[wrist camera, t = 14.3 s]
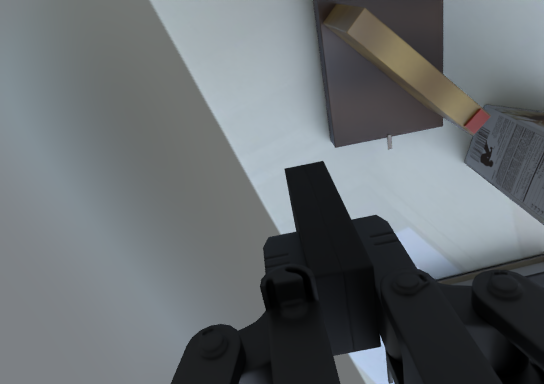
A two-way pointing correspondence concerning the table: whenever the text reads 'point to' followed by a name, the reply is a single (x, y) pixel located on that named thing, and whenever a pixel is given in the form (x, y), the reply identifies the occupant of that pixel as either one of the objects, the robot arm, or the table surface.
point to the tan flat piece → (405, 66)
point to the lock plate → (377, 73)
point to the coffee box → (512, 155)
